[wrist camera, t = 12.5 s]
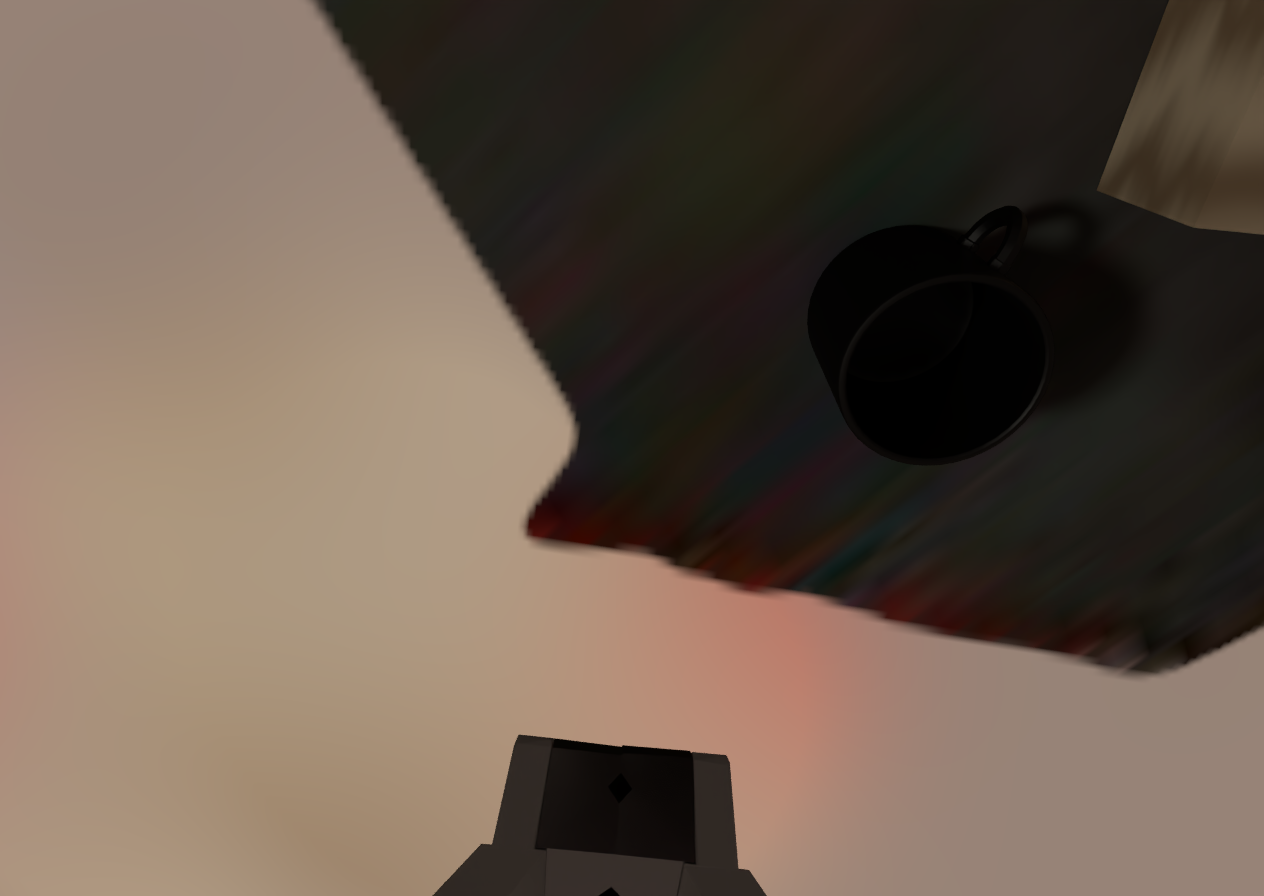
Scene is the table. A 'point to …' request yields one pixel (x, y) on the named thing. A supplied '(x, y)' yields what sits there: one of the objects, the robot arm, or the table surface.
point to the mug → (931, 340)
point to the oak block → (1197, 120)
